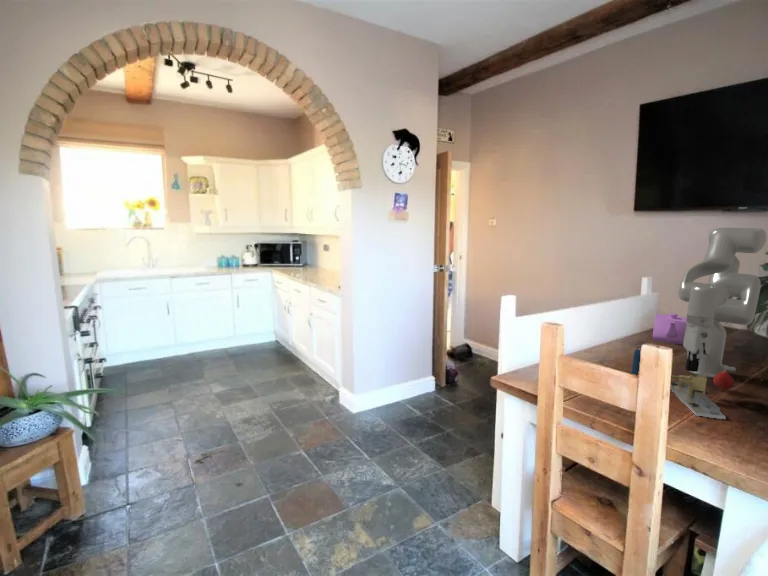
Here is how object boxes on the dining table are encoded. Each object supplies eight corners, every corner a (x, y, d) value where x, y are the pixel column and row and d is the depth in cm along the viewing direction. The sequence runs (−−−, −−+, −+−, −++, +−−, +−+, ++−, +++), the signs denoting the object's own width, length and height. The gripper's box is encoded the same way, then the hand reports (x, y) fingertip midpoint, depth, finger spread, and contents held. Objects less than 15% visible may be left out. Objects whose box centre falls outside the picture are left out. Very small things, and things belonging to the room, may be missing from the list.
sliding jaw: (701, 393, 143) (704, 375, 142) (704, 396, 141) (707, 378, 140) (675, 391, 145) (678, 372, 144) (678, 393, 143) (680, 375, 142)
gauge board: (690, 387, 152) (691, 375, 152) (724, 419, 128) (727, 406, 127) (664, 384, 155) (666, 372, 154) (694, 415, 130) (696, 402, 129)
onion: (707, 387, 153) (711, 366, 151) (723, 387, 152) (727, 367, 151) (719, 393, 147) (723, 372, 145) (736, 394, 147) (740, 373, 145)
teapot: (651, 343, 205) (654, 316, 202) (653, 332, 225) (656, 307, 222) (688, 349, 196) (692, 321, 194) (687, 337, 216) (691, 311, 214)
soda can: (650, 383, 156) (654, 353, 154) (629, 378, 160) (633, 349, 158) (653, 377, 161) (657, 348, 159) (632, 373, 165) (636, 345, 163)
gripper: (722, 326, 135) (713, 379, 138) (702, 317, 149) (694, 365, 152) (696, 324, 137) (687, 376, 140) (678, 315, 151) (671, 362, 154)
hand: (691, 370), depth 146 cm, fingers closed
